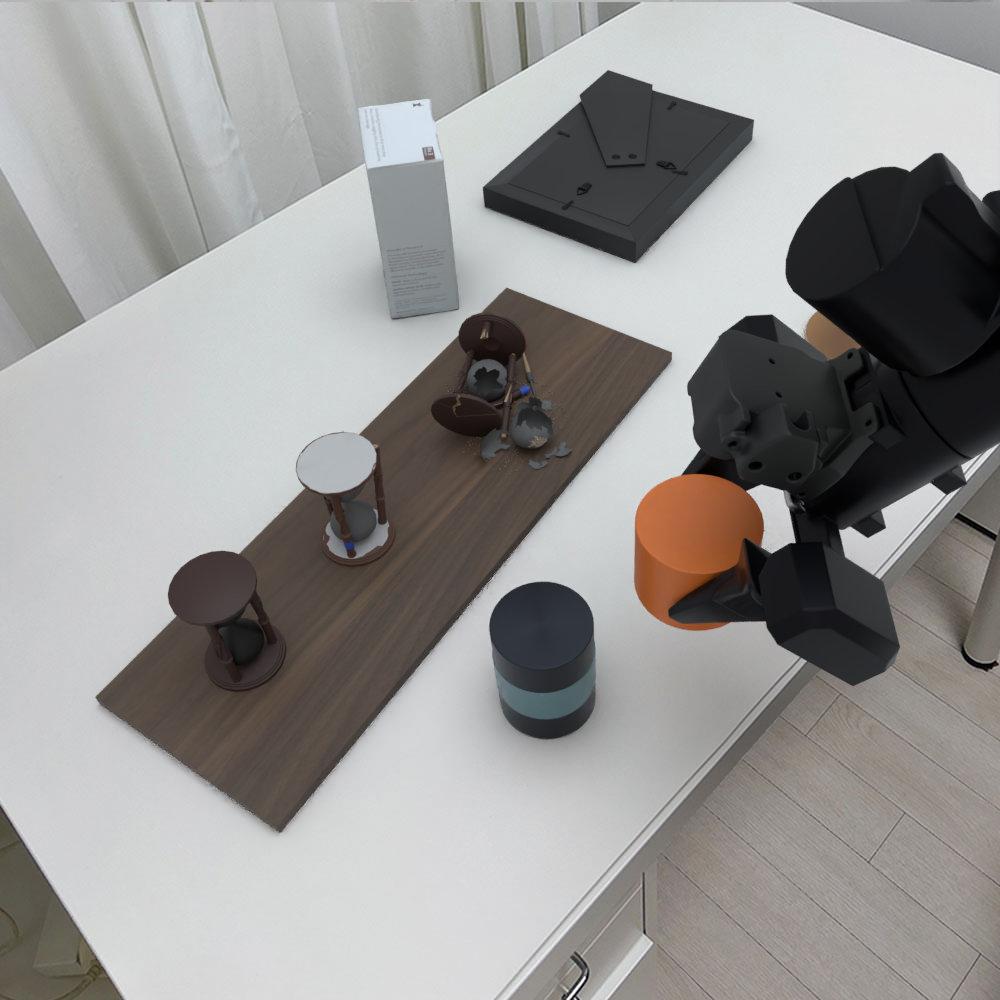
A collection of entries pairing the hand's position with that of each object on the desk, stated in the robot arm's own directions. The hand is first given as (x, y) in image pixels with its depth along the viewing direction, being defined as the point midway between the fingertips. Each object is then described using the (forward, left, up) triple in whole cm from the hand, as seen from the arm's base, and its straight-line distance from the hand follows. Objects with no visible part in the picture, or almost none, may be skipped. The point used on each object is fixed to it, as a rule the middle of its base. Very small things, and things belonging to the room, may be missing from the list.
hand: (668, 563), depth 56 cm
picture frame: (+1, -54, -13) cm, 55 cm away
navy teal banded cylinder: (+7, 0, -13) cm, 15 cm away
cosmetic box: (+18, -39, -13) cm, 45 cm away
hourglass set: (+16, -14, -13) cm, 25 cm away
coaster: (-16, -31, -13) cm, 37 cm away
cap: (-1, 0, -2) cm, 2 cm away
